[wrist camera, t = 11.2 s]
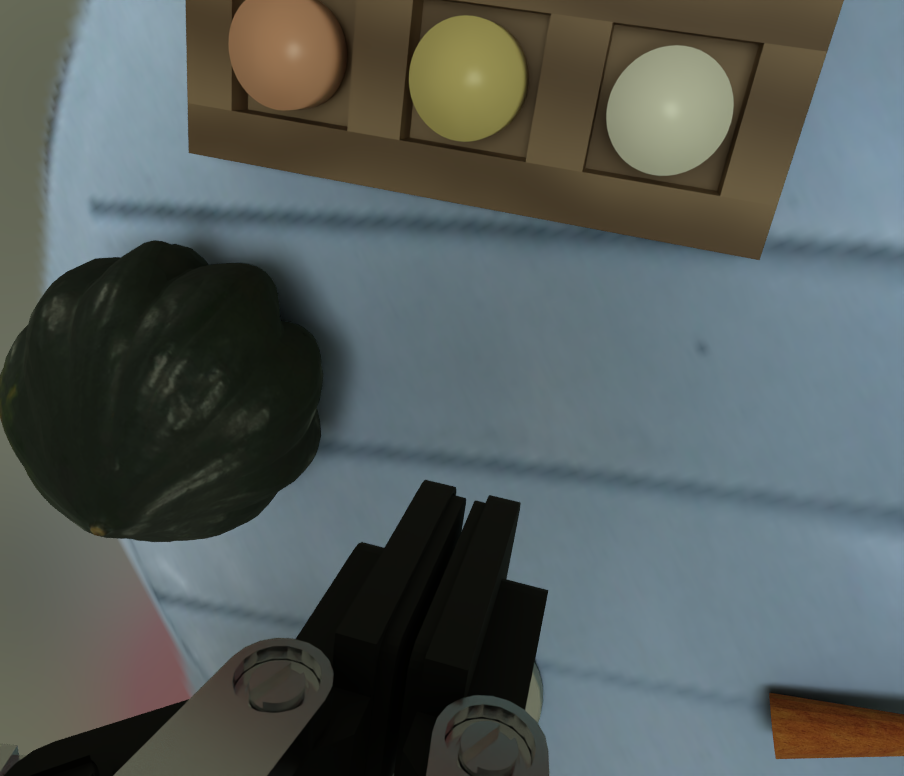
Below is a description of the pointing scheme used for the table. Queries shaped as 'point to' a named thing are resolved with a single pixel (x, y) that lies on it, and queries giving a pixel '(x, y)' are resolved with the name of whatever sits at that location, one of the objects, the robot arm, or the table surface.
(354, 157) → the button panel
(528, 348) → the table surface
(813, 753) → the purple and brown maraca
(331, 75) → the terracotta button
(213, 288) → the squash
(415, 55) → the mustard button
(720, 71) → the cream button
